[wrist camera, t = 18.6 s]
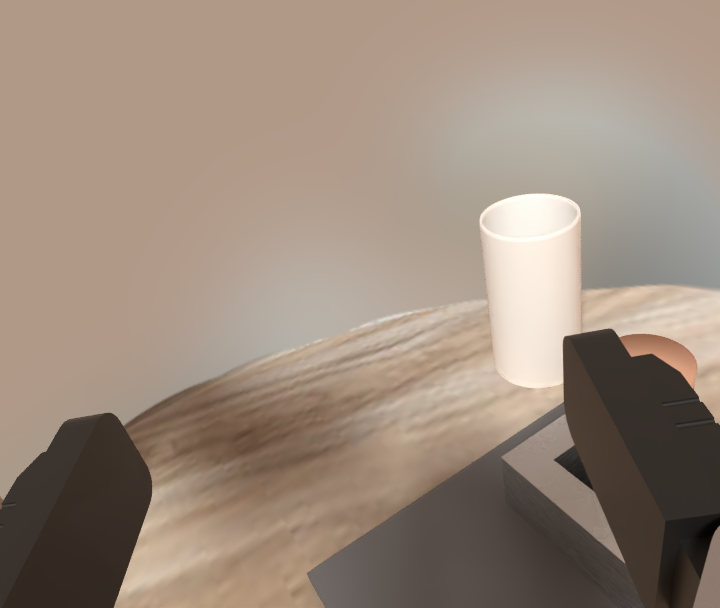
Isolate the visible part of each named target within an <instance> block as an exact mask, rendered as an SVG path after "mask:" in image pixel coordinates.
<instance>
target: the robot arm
mask: <svg viewBox="0 0 720 608" xmlns="http://www.w3.org/2000/svg"><path fill="white" fill-rule="evenodd" d="M563 382H564V407H565V414H566V419H567V424H568V427H569V431H570V434H571V437H572V439H573V442H574V444H575V447H576V449H577V451H578V454H579V456H580V458H581V461H582V463H583V465H584V468H585V470H586V472H587V475H588V477H589V479H590V482H591V484H592V486H593V489H594V491H595V493H596V496H597V498H598V500H599V503H600V505H601V507H602V510H603V512H604V514H605V517H606V519H607V521H608V524H609V526H610V528H611V531H612V533H613V535H614V538H615V540H616V543H617V545H618V547H619V550H620V552H621V554H622V557H623V559H624V561H625V564H626V566H627V568H628V571H629V573H630V575H631V578H632V580H633V582H634V585H635V587H636V589H637V592H638V594H639V596H640V599H641V601H642V603H643V606H644V608H720V425H719V424H718V423H715V421H714V417H713V416H712V414H711V413H710V411H709V410H708V409H707V407H706V406H705V405H704V403H703V402H700V401H699V396H698V395H697V394H696V392H695V391H694V390H693V388H692V387H691V386H690V384H689V383H688V381H687V380H686V379H685V377H684V376H683V375H682V373H681V372H680V371H678V370H677V369H675V368H674V367H672V366H670V365H669V364H667V363H666V362H664V361H663V360H661V359H660V358H658V357H657V356H655V355H654V354H646V355H640V356H634V357H631V356H630V354H629V352H628V351H627V349H626V348H625V346H624V345H623V343H622V342H621V340H620V339H619V337H618V335H617V334H616V333H615V331H614V330H612V329H604V330H598V331H592V332H586V333H580V334H575V335H569V336H565V337H564V339H563ZM151 497H152V480H151V475H150V472H149V469H148V467H147V465H146V464H145V462H144V460H143V459H142V457H141V455H140V454H139V452H138V450H137V449H136V447H135V445H134V444H133V442H132V440H131V439H130V437H129V435H128V434H127V432H126V430H125V429H124V427H123V425H122V424H121V422H120V420H119V419H118V418H117V417H116V416H115V415H114V414H112V413H104V414H98V415H92V416H86V417H80V418H74V419H69V420H67V421H65V422H64V423H63V424H62V426H61V427H60V429H59V430H58V432H57V434H56V435H55V437H54V439H53V441H52V442H51V444H50V446H49V448H48V449H47V451H46V452H43V453H41V454H40V455H39V456H38V457H37V458H36V459H35V460H34V461H33V463H31V464H30V465H29V467H27V468H26V470H25V471H24V472H22V473H21V474H20V475H19V477H17V479H16V481H15V483H14V484H13V486H12V487H11V489H10V491H9V492H8V494H7V496H6V497H5V499H4V500H2V498H1V497H0V608H114V605H115V602H116V599H117V596H118V594H119V591H120V588H121V585H122V582H123V579H124V576H125V574H126V571H127V568H128V565H129V562H130V559H131V556H132V553H133V551H134V548H135V545H136V542H137V539H138V536H139V533H140V530H141V528H142V525H143V522H144V519H145V516H146V513H147V510H148V508H149V505H150V501H151Z"/></svg>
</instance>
